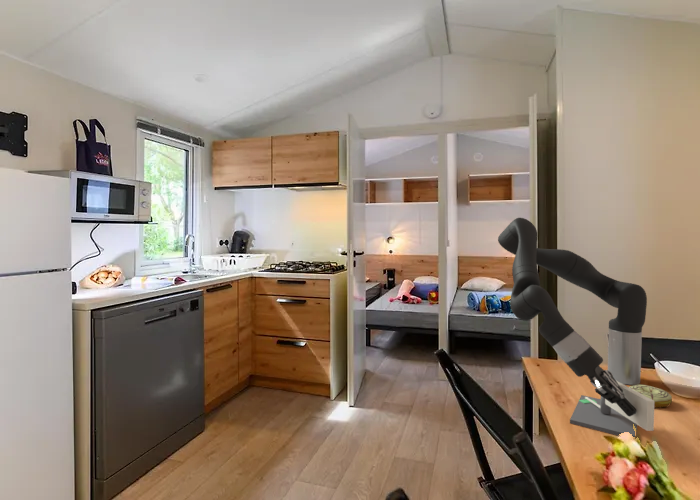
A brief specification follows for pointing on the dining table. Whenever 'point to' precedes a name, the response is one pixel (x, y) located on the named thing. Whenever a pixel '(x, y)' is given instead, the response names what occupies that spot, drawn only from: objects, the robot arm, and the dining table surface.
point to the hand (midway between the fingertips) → (633, 413)
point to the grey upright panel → (639, 401)
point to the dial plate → (600, 418)
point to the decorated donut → (654, 394)
